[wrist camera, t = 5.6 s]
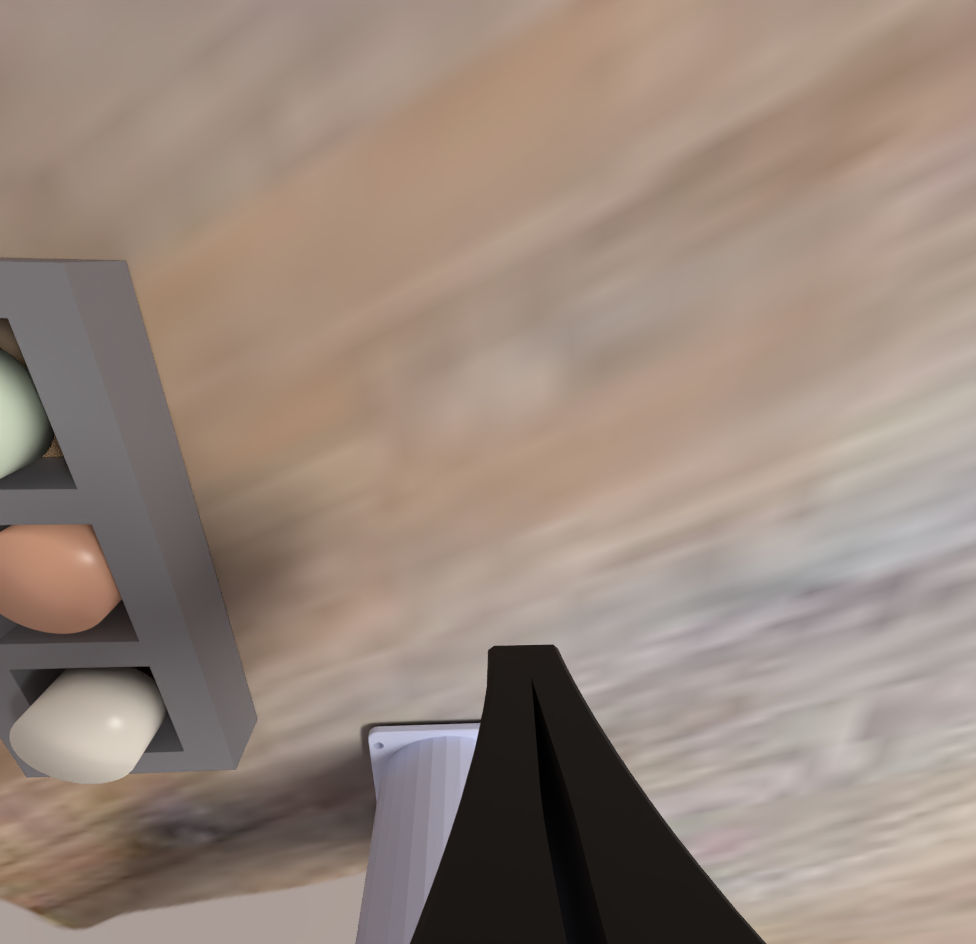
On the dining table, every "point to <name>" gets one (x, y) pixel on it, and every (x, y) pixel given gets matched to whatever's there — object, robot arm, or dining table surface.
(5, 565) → the terracotta button
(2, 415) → the sage button
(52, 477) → the button board
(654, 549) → the dining table surface
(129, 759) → the cream button
